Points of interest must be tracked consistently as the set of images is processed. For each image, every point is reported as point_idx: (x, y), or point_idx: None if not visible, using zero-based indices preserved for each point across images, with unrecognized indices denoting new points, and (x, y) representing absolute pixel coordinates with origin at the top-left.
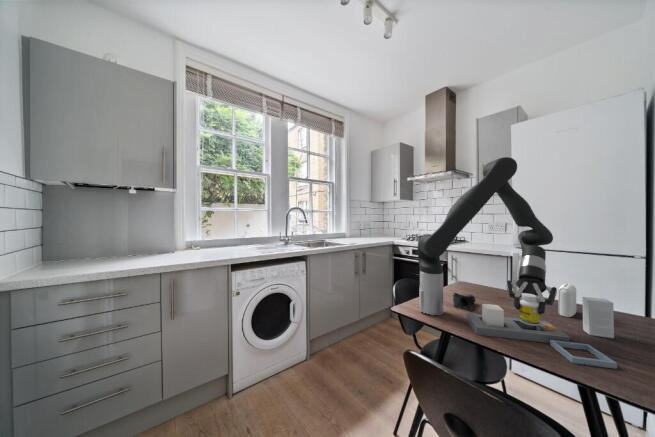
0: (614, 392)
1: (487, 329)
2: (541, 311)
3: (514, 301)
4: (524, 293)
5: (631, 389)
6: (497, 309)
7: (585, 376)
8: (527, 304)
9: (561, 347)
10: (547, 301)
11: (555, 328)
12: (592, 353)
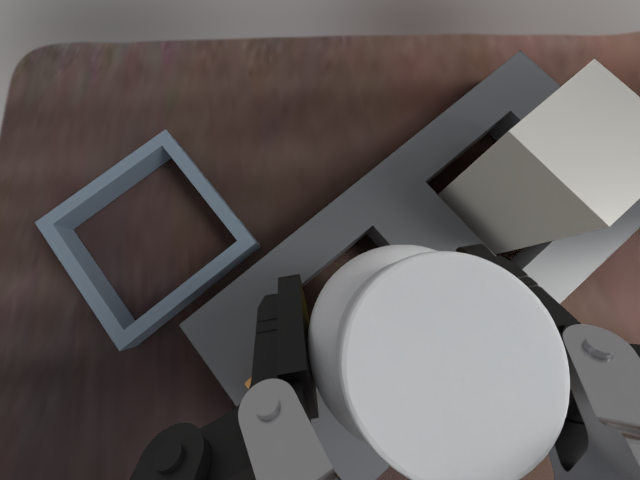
0: (78, 51)
1: (479, 85)
2: (279, 279)
3: (538, 287)
4: (548, 412)
5: (38, 108)
6: (546, 110)
7: (139, 79)
8: (397, 247)
9: (206, 196)
10: (219, 439)
11: (246, 382)
12: (120, 301)
